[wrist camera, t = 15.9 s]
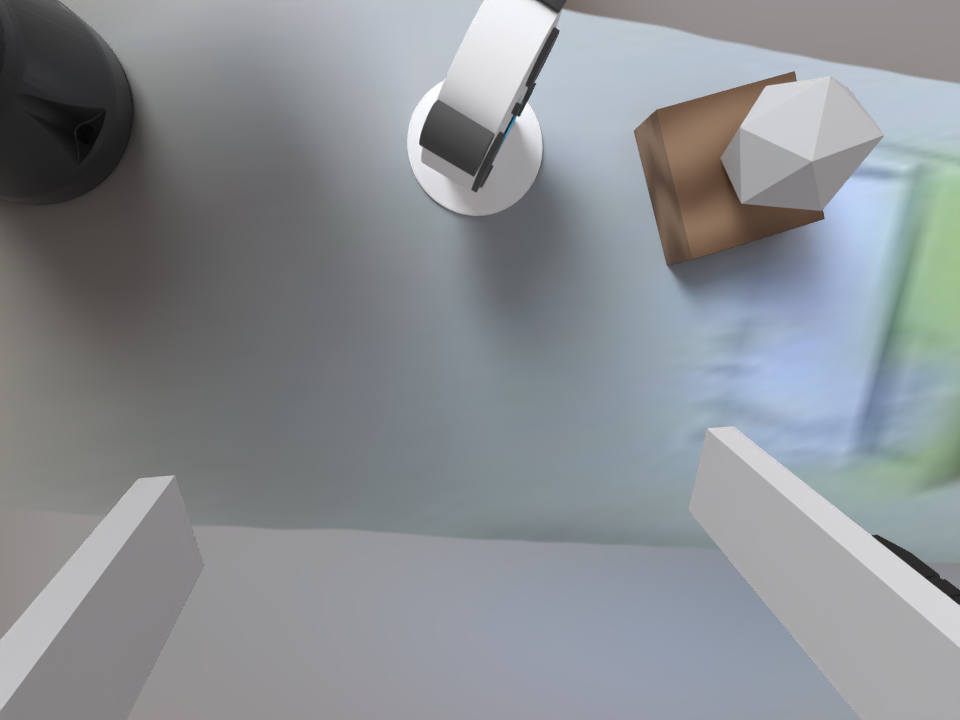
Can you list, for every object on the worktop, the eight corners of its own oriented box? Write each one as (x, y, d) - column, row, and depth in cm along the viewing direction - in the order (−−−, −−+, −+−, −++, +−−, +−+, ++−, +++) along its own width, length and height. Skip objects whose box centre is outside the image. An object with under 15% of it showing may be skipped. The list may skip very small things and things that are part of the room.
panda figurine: (498, 247, 39) (538, 203, 24) (379, 179, 38) (345, 89, 23) (564, 122, 39) (646, 1, 24) (447, 49, 37) (456, -129, 23)
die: (820, 170, 38) (900, 38, 29) (827, 249, 34) (922, 124, 25) (711, 162, 40) (756, 37, 32) (705, 236, 36) (755, 116, 28)
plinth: (633, 130, 40) (656, 109, 36) (759, 95, 40) (794, 71, 36) (667, 265, 41) (692, 259, 37) (787, 228, 42) (824, 219, 38)
